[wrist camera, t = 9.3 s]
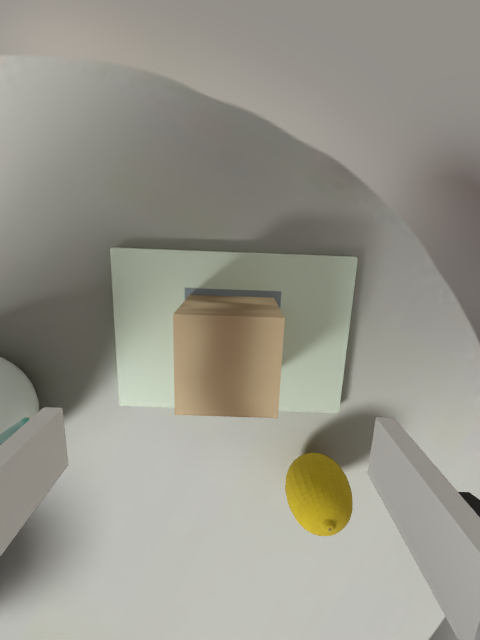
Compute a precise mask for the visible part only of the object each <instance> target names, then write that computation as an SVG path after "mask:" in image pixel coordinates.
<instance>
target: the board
mask: <svg viewBox="0 0 480 640" xmlns="http://www.w3.org/2000/svg"><path fill="white" fill-rule="evenodd" d="M110 260H111V277H112V294H113V311H114V328H115V345H116V362H117V379H118V396H119V406H144V407H173V408H175V406H174V344H173V314H174V312H175V311H176V310H177V309H178V308H179V307H180V305H181V304H182V303H183V302H184V301H185V300H186V298H187V297H188V296H189V295H211V296H241V297H270V298H274V299H275V301H276V302H277V304H278V306H279V308H280V310H281V312H282V314H283V315H284V317H285V323H284V337H283V352H282V366H281V380H280V395H279V409H278V411H290V412H319V413H339V408H340V400H341V392H342V384H343V376H344V367H345V359H346V351H347V343H348V335H349V327H350V319H351V311H352V302H353V294H354V286H355V278H356V270H357V262H358V257H354V256H330V255H303V254H277V253H250V252H224V251H197V250H171V249H144V248H118V247H114V248H110Z"/></svg>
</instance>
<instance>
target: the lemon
mask: <svg viewBox="0 0 480 640" xmlns="http://www.w3.org/2000/svg"><path fill="white" fill-rule="evenodd" d="M285 490H286V496H287V500H288V504H289V507H290V509H291V511H292V513H293V515H294V516H295V518H296V520H297V521H298V523H299V524H300V525H301V526H302V527H303V528H304V529H306V530H307V531H309V532H311V533H313V534H315V535H319V536H330V535H334V534H336V533H338V532H339V531H341V530H342V529H343V528H344V527H345V526H346V525H347V523H348V521H349V520H350V517H351V513H352V493H351V489H350V486H349V482H348V480H347V477H346V475H345V474H344V472H343V471H342V469H341V468H340V467H339V465H338V464H337V463H336V462H335V461H333V460H332V459H331V458H330V457H327V456H325V455H323V454H319V453H307V454H304V455H302V456H300V457H298V458H297V459H296V460H295V461H294V462H293V463H292V464H291V466H290V467H289V470H288V473H287V475H286V485H285Z"/></svg>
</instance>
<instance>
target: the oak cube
mask: <svg viewBox="0 0 480 640" xmlns="http://www.w3.org/2000/svg"><path fill="white" fill-rule="evenodd" d="M284 323H285V317H284V315H283V314H282V312H281V310H280V308H279V306H278V304H277V302H276V301H275V299H274V298H270V297H241V296H211V295H189V296H188V297H187V298H186V300H185V301H184V302H183V303H182V304H181V305H180V307H179V308H178V309H177V310H176V311H175V312H174V314H173V344H174V406H175V415H199V416H231V417H263V418H278V409H279V395H280V380H281V366H282V352H283V337H284Z"/></svg>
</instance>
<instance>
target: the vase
mask: <svg viewBox="0 0 480 640" xmlns="http://www.w3.org/2000/svg"><path fill="white" fill-rule="evenodd" d="M38 412H39V402H38V397H37V394H36V391H35V389H34V386H33V385H32V383H31V381H30V380H29V378H28V377H27V376H26V375H25V373H24V372H23V371H22V370H21V369H19V368H18V367H17V366H16V365H14V364H13V363H11V362H10V361H8V360H6V359H4V358H2V357H0V445H1V444H3V443H4V442H5V441H6V440H7V439H8V438H9V437H11V436H12V435H13V434H14V433H15V432H16V431H17V430H19V429H20V428H21V427H22V426H23V425H24V424H25V423H26V422H28V421H29V420H30V419H31V418H32V417H33V416H34V415H36V414H37V413H38Z"/></svg>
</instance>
